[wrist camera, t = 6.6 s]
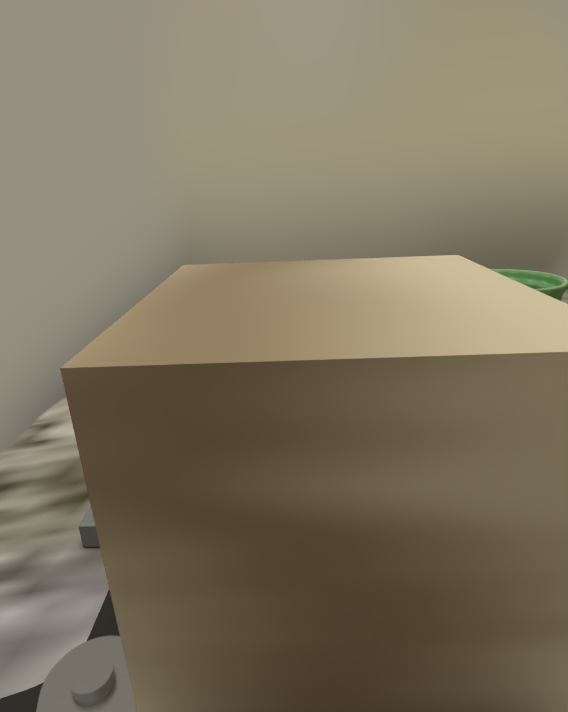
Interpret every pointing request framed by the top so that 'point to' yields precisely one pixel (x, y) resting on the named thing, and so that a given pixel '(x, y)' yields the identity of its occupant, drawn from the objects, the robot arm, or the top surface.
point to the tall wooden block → (333, 487)
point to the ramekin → (538, 281)
